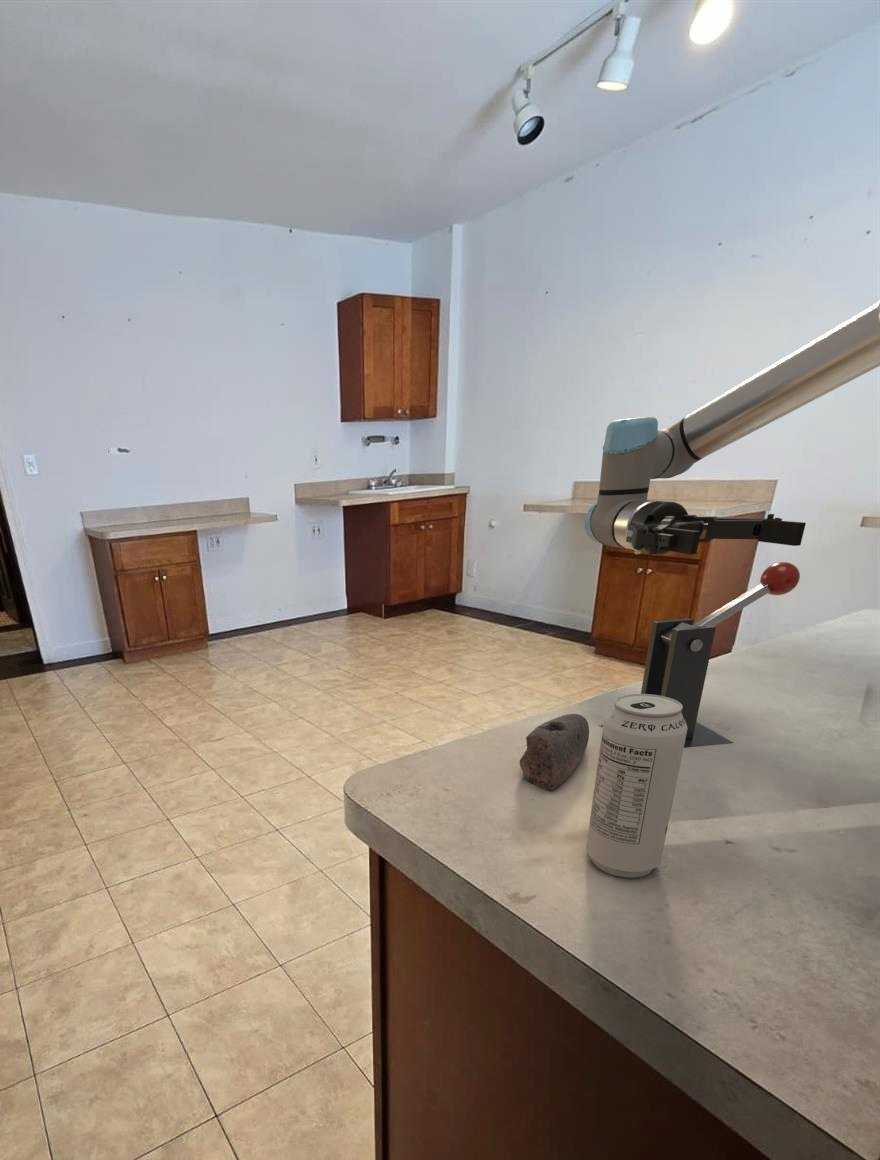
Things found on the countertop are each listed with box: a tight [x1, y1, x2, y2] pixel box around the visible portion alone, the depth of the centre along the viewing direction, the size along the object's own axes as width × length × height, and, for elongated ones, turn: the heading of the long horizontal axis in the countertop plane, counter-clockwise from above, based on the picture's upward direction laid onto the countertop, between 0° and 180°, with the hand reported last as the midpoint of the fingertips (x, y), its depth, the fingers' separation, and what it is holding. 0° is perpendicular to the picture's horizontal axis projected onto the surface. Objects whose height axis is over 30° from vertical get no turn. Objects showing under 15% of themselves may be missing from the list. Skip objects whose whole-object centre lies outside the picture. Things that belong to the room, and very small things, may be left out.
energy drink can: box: [585, 693, 688, 879], centre depth 54 cm, size 6×6×15 cm
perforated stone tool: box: [519, 713, 590, 792], centre depth 72 cm, size 15×5×7 cm, turn 139°
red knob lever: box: [661, 561, 801, 652], centre depth 73 cm, size 15×4×4 cm
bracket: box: [598, 617, 735, 749], centre depth 76 cm, size 12×9×15 cm
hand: (748, 538), depth 80 cm, fingers open, 13 cm apart
